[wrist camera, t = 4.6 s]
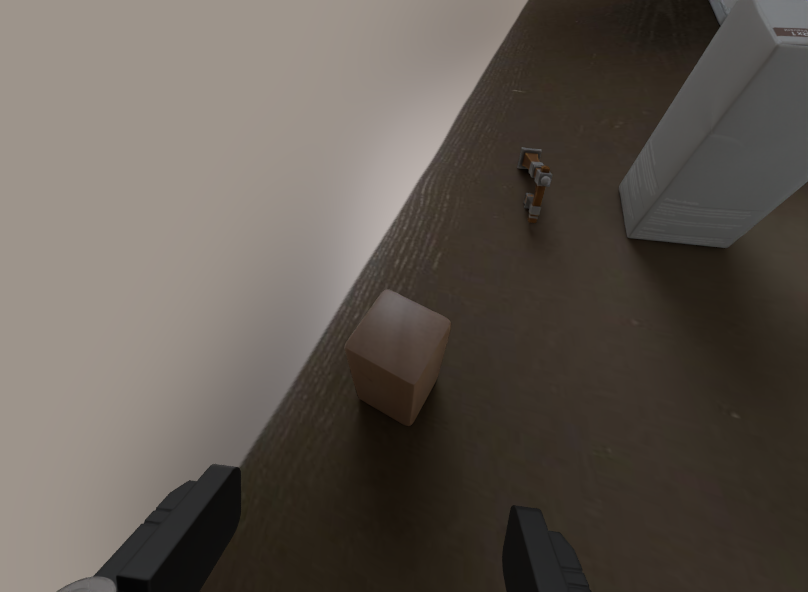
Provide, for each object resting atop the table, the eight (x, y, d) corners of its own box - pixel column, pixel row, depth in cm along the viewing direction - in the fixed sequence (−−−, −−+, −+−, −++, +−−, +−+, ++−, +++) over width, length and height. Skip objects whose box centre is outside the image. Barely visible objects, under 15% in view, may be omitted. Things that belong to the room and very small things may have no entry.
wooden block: (355, 398, 24) (339, 346, 18) (387, 348, 26) (384, 283, 20) (410, 430, 23) (415, 388, 17) (439, 376, 25) (455, 318, 19)
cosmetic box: (707, 197, 35) (906, -16, 21) (729, 259, 31) (987, 49, 17) (611, 185, 35) (745, -30, 22) (621, 245, 32) (790, 31, 18)
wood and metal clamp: (522, 225, 31) (537, 169, 29) (510, 193, 38) (522, 145, 35) (544, 228, 31) (562, 172, 28) (529, 195, 38) (542, 147, 35)
